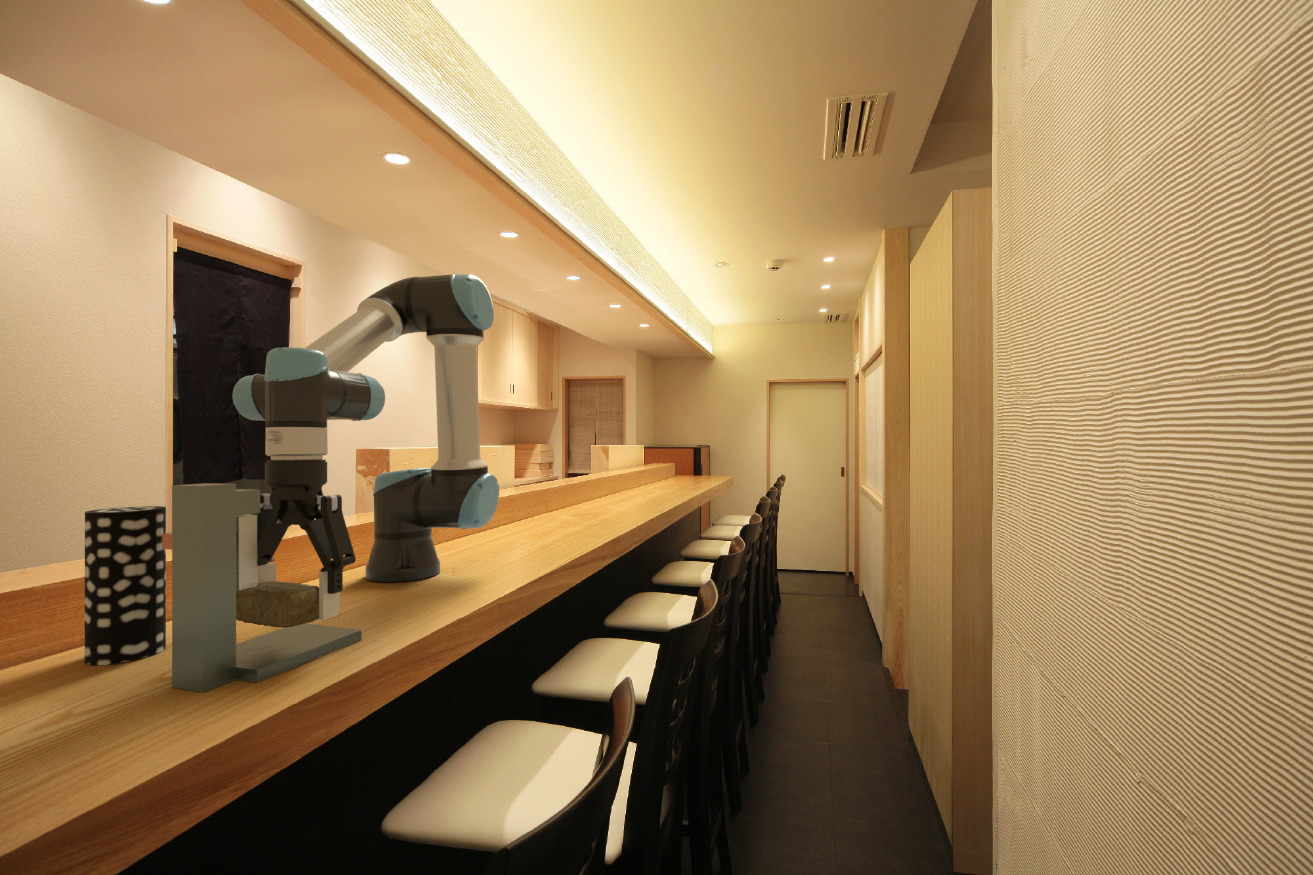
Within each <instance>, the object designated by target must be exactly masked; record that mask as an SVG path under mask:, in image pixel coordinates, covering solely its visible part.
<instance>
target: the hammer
mask: <svg viewBox="0 0 1313 875" xmlns="http://www.w3.org/2000/svg"><path fill="white" fill-rule="evenodd" d="M162 549H166V550H172V531H171V532H166V533H163V534H162ZM255 586H257V515H251V514H247V515H239V516H236V590H243V589H247V588H251V587H255Z"/></svg>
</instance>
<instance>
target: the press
mask: <svg viewBox="0 0 1313 875" xmlns="http://www.w3.org/2000/svg"><path fill="white" fill-rule="evenodd" d="M171 489H172V490H171V492H172V493H171V502H172V503H171V505H172V506H171V510H172V511H171V523H172V524H171V532H172V549H171V557H172V558H171V559H172V560H171V562H172V563H171V566H172V567H171V569H172V570H171V571H172V572H171V573H172V574H171V592H172V593H171V596H172V597H171V599H172V600H171V605H172V606H171V622H172V623H171V626H172V627H171V628H172V629H171V631H172V632H171V633H172V634H171V636H172V637H171V643H172V645H171V657H172V658H171V659H172V660H171V661H172V662H171V670H172V671H171V675H172V676H171V685H172V686H171V688H172V689H178V690H184V691H185V690H186V691H189V692H195V693H196V692H197V693H201V694H203V693H205V692H208V691H210V690H212V689H215V688H218V687H221V686H223V685H225V684H226V685H227V683H231V682H233V681H236V680H237V681H243V682H244V681H245V682H250V683H251V682H252V683H256V684H257V683H260V682H263V681H265V680H268V679H270V678H273V677H275V676H277V675H280V674H282V673H285V672H288V671H290V670H292V669H294V668H297V667H300V666H302V665H304V664H307V663H309V662H311V661H314V660H316V659H319V658H321V657H323V656H326V655H329V654H330V653H331V654H332V653H333V652H336V651H338V650H340V649H343V648H346V647H348V646H351V645H353V644H355V643H358V642H361V641H362V640H363V638H362V637H363V636H362V634H363V630H362V629H358V628H349V627H343V626H342V627H340V626H331V625H321V624H314V623H305V624H301V625H297V626H294V627H287V628H284V627H281V628H279V629H276V630H273V631H270V632H267V633H265V634H261V635H259V636H258V635H257V636H256V637H252V638H249V639H246V640H244V641H241V642H237V620H236V516H239V515H247V514H248V515H251V514H256V513H260V494H261V489H251V488H250V489H247V488H246V489H245V488H242V489H241V488H237V483H216V482H214V483H212V482H211V483H210V482H209V483H207V482H205V483H204V482H203V483H193V484H176V485H171Z"/></svg>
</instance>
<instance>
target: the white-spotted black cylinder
mask: <svg viewBox="0 0 1313 875" xmlns="http://www.w3.org/2000/svg"><path fill="white" fill-rule="evenodd" d="M163 533H167V507H166V506H163V505H162V506H157V505H155V506H154V505H150V506H149V505H148V506H147V505H146V506H145V505H144V506H125V507H111V508H101V509H91V510H87V511H85V512H84V663H85V664H86V665H89V666H108V665H109V664H111V665H117V664H118V663H119V664H123V663H122V662H125V663H128V662H129V661H130V662H133V661H132V660H134V661H138V660H141V659H140V658H142V659H146V658H148V656H149V657H152V656H155V655H156V654H159V653H161V652H162V651H164V650H166V647H167V631H166V630H167V573H166V572H167V549H162V534H163ZM154 654H155V655H154ZM145 657H146V658H145Z"/></svg>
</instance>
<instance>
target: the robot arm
mask: <svg viewBox="0 0 1313 875" xmlns="http://www.w3.org/2000/svg"><path fill="white" fill-rule="evenodd" d="M494 318H495V311H494V304H493V301H492V296H491V294H490V292H489V289H487V285H485V283H484V282H483V280H481V279H480V278H479V277H478V276H476V275H474V274H471V273H469V274H468V273H467V274H465V273H463V274H460V273H452V274H442V275H441V274H440V275H430V276H429V275H428V276H412V277H410V276H409V277H406V278H403V279H401V280H400V279H399V280H397V281H394V282H393V283H392V282H391V283H390V284H388V285H387V286H385V287H382V288H381V289H379V290H377V291H376V292H374V293H373V294H371V295H369V296H367V297H366V298H365V299H364V300H362V301H361V302H360V303H359V304H358V305H357V309H356V311H355V313H353V314H351V315H349V317H347V318H346V319H344V320H343V321H341V322H339V324H337V325H336V326H335V327H333V328H332V329H330V330H328V331H327V332H325V334H323V335H321V336H320V337H318V338H317V339H316V340H314V341H313V342H311V343H310V344H309V345H307V346H306V347H304V348H303V347H294V346H293V347H288V346H287V347H275V348H273V349H270V350H269V351H268V352H267V354H266V360H265V370H264V374H262V373H255V374H253V375H245V376H244V377H241V378H239V380H237V382H236V384H235V385H234V387H233V391H232V402H233V405H234V406H235V410H237V412H238V413H239V414H240V415H241V416H242V417H243V418H246V419H248V420H250V421H265V448H264V450H265V455H266V456H267V457H270V460H266V462H264V485H265V486H267V487H268V488H271V492H268V493H260V513H256V514H250V515H257V583H262V582H269V581H277V562H275V561H276V558H274V555H275V554H276V551H277V549H278V548H279V545H281V542H282V540H283V538H284V536H285V534H286V532H287V530H288V529H289V527H291V526H292V525H294V526H299V528H300V529H301V530H303V531H305V533H306V534H307V535H306V536H308V539H309V541H310V543H311V544H312V546H313V548H314V550H315V553H316V555H317V556H318V558H319V561H320V563H321V564H322V567H321V569H319V571H318V587H319V619H318V620H322V621H323V620H326V619H327V620H328V619H330V618H332V617H335V616H338V615H340V614H341V599H340V598H341V596H340V595H341V593H342V591H343V589H344V588H343V587H344V586H343V578H344V577H343V571H344V568H345V567H346V566H349V565H352V564H355V563H356V559H357V558H356V555H355V551H354V548H353V545H352V541H351V537H350V534H349V531H348V528H347V524H346V521H345V520H346V519H345V517H344V513H343V498H342V496H341V495H340V494H331V495H324V492H323V486H325V485H326V484H327V483H328V461H326V459H323V457H324V456H326V455H328V450H329V449H328V420H329V421H335V420H337V421H338V420H344V421H345V420H346V421H348V420H349V421H353V422H357V421H358V422H360V421H368V420H372V419H374V418H376V417H377V416H379V415H380V413H381V412H382V410H383V409H384V407H385V403H386V393H385V390H384V387H383V385H382V384H381V382H380V381H379V380H377V379H376V378H374V377H371V376H368V375H365V374H363V373H361V372H360V373H359V372H358V373H355V372H350V371H351V370H352V369H353V368H354V367H356V366H357V365H358V364H359V363H360V362H362V361H363V360H364V359H366V358H367V357H368V356H369V355H371V354H372V353H373V352H374V351H376V350H377V349H378V348H379V347H381V345H383V344H384V343H385V342H386V343H388V342H389V343H390V342H394V341H396V340H397V339H399V337H402V336H403V335H407V334H414V333H426V334H425V336H426V337H425V338H426V340H427V341H428V342H430V344H431V345H432V346H433V347H434V372H435V398H436V400H435V402H436V427H437V428H436V429H437V430H436V431H437V458H438V459H437V461H436V462H435V463H433V464H432V466H430V467H418V468H410V469H402V470H395V471H388V472H383V473H380V474H378V475H377V476H376V477H375V479H374V486H373V487H374V488H373V494H372V495H373V518H374V519H373V527H374V528H373V529H374V530H373V531H374V532H373V535H374V537H373V541H374V542H373V545H372V548H371V552H370V553H369V557H368V563H366V565H365V572H364V573H365V574H364V576H365V580H367V581H370V582H375V583H376V582H378V583H396V582H397V583H399V582H409V581H416V580H417V581H418V580H422V579H427V578H430V577H434V576H436V575H438V574H439V573H441V561H440V558H439V557H438V553H437V550H436V547H435V544H434V540H433V537H432V534H433V533H432V530H433V529H434V528H436V529H437V528H438V529H439V528H440V529H444V528H445V529H462V530H467V529H478V528H479V529H480V528H483V527H484V526H486V525H487V524H488V523H489V522H490V521H491V520H492V519H493V516H494V514H495V513H496V510H497V508H498V504H499V498H500V485H499V482H498V479H497V477H496V476H495V475H494V474H492V473H489V471H488V470H489V468H488V463H486V461H485V460H483V459H482V457H481V441H480V440H481V438H480V414H479V412H480V411H479V410H480V408H479V405H480V404H479V380H478V376H479V375H478V374H479V373H478V351H477V350H478V346H479V345H480V344H482V342H483V341H484V340H485V339H484V338H485V337H484V331H487V330H489V329H490V328H491V327H493V322H494ZM432 528H433V529H432Z"/></svg>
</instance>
